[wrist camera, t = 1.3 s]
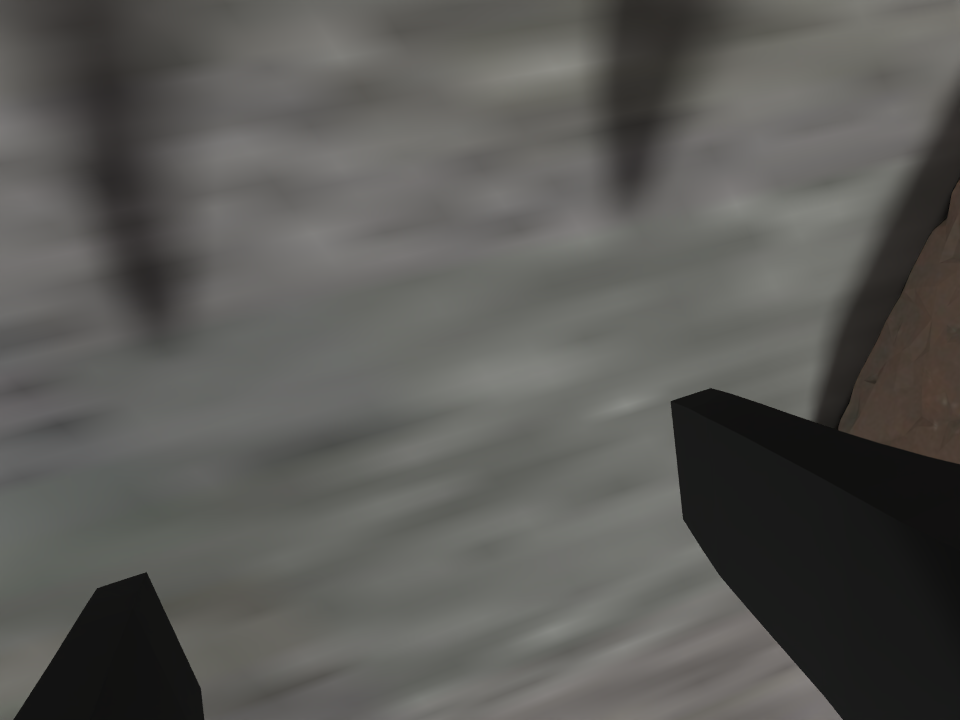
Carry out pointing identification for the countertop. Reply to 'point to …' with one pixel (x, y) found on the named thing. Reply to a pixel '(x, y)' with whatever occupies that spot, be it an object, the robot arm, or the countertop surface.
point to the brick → (917, 357)
